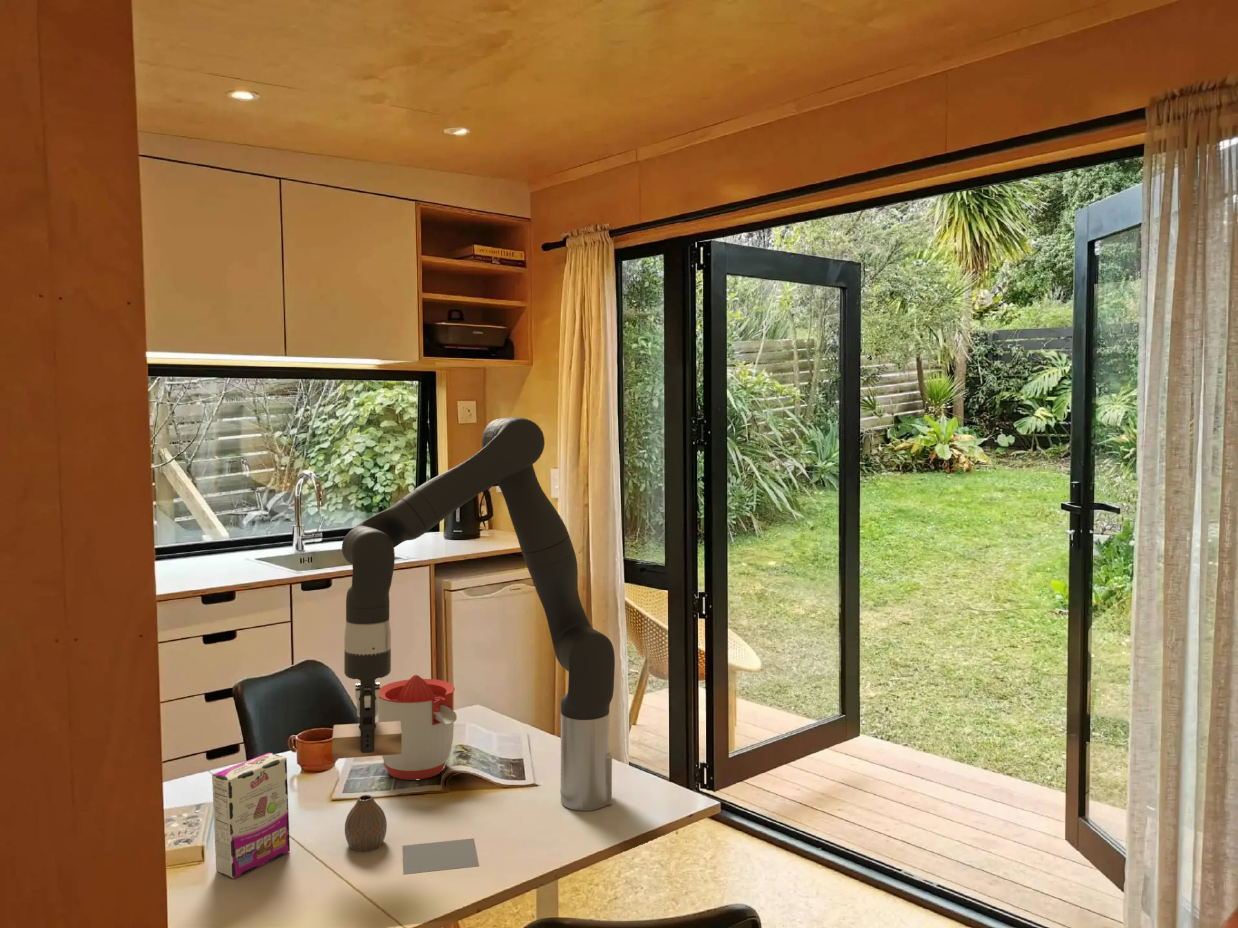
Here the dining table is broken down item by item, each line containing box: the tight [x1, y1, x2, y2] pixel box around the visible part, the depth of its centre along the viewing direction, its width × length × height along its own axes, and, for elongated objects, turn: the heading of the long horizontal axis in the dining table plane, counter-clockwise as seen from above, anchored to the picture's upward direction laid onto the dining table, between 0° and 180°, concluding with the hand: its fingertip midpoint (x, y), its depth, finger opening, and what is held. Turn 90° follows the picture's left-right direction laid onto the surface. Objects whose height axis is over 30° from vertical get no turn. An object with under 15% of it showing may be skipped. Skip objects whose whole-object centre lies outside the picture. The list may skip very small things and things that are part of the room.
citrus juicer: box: [377, 674, 458, 781], centre depth 195 cm, size 16×17×20 cm
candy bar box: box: [211, 752, 291, 880], centre depth 156 cm, size 11×5×16 cm, turn 148°
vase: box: [344, 794, 388, 852], centre depth 162 cm, size 7×7×9 cm
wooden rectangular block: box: [331, 721, 402, 760], centre depth 160 cm, size 11×6×4 cm, turn 105°
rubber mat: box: [402, 837, 480, 875], centre depth 158 cm, size 12×10×1 cm
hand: (367, 744), depth 160 cm, fingers closed on wooden rectangular block, 6 cm apart
